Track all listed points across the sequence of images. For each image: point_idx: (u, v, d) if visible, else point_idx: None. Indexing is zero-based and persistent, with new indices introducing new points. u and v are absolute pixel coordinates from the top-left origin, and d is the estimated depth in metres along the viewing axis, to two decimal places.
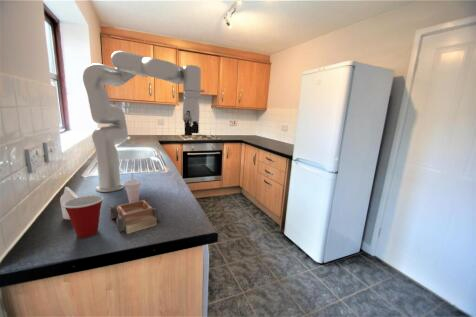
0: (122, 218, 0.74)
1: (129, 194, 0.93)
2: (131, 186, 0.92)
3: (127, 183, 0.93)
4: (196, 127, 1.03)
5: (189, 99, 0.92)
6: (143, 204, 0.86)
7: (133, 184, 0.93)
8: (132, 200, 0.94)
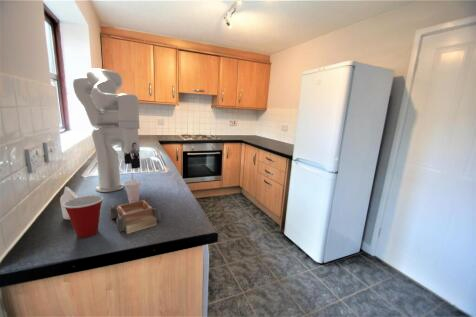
0: (122, 218, 0.74)
1: (129, 194, 0.93)
2: (131, 186, 0.92)
3: (127, 183, 0.93)
4: (130, 157, 0.96)
5: (133, 130, 0.86)
6: (143, 204, 0.86)
7: (133, 184, 0.93)
8: (132, 200, 0.94)
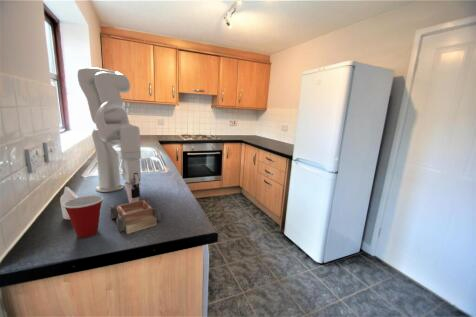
0: (122, 218, 0.74)
1: (129, 194, 0.93)
2: (131, 186, 0.92)
3: (127, 183, 0.93)
4: None
5: (135, 161, 0.89)
6: (143, 204, 0.86)
7: (133, 184, 0.93)
8: (132, 200, 0.94)
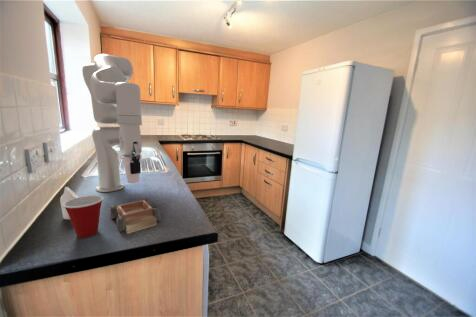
0: (122, 218, 0.74)
1: (127, 169, 0.76)
2: None
3: (125, 156, 0.76)
4: None
5: (135, 127, 0.72)
6: (143, 204, 0.86)
7: None
8: (131, 177, 0.77)
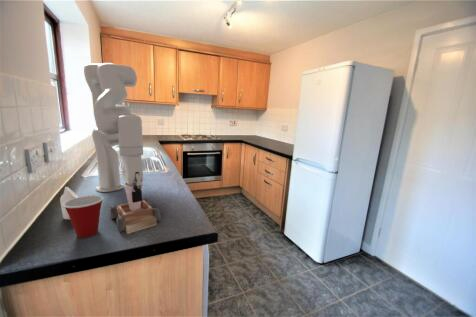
0: (122, 218, 0.74)
1: (129, 197, 0.78)
2: None
3: (127, 184, 0.78)
4: None
5: (136, 158, 0.74)
6: (143, 204, 0.86)
7: (134, 185, 0.77)
8: (133, 205, 0.79)
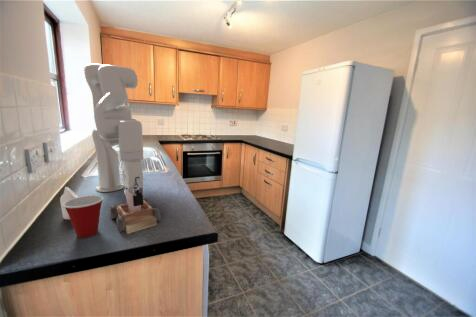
0: (122, 218, 0.74)
1: (129, 204, 0.79)
2: (132, 194, 0.77)
3: (127, 190, 0.79)
4: None
5: (137, 163, 0.74)
6: (143, 204, 0.86)
7: None
8: (133, 211, 0.80)
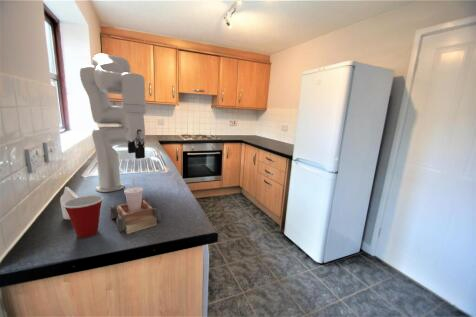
0: (122, 218, 0.74)
1: (129, 204, 0.79)
2: (132, 194, 0.77)
3: (127, 190, 0.79)
4: (134, 145, 0.86)
5: (139, 115, 0.76)
6: (143, 204, 0.86)
7: (134, 192, 0.78)
8: (133, 211, 0.80)
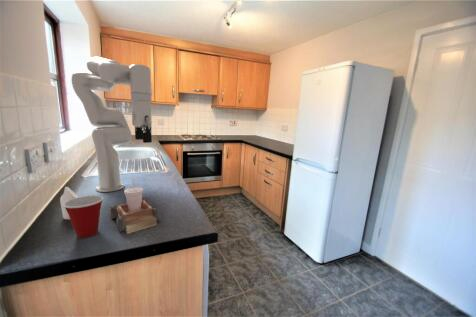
0: (122, 218, 0.74)
1: (129, 204, 0.79)
2: (132, 194, 0.77)
3: (127, 190, 0.79)
4: (141, 132, 0.93)
5: (146, 103, 0.84)
6: (143, 204, 0.86)
7: (134, 192, 0.78)
8: (133, 211, 0.80)
